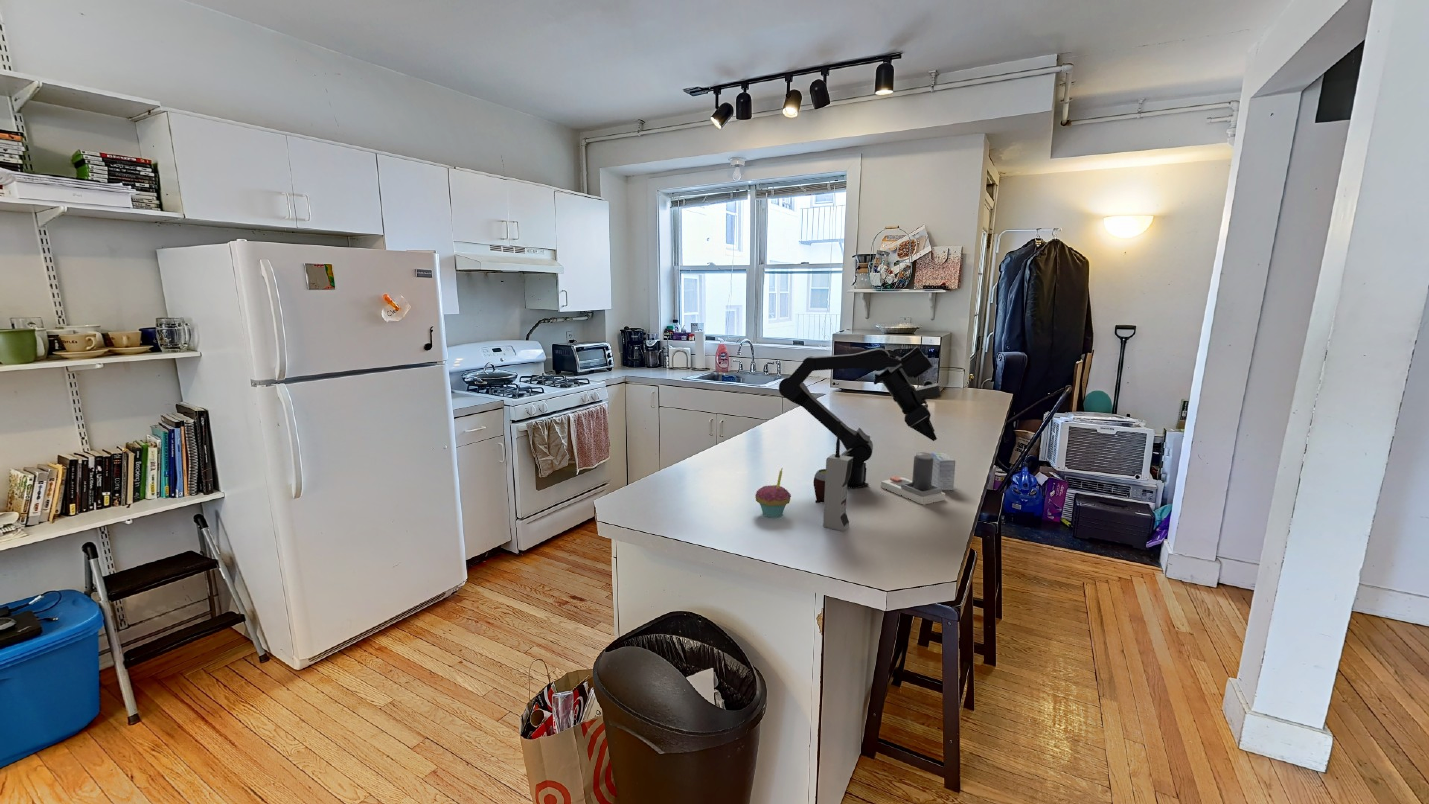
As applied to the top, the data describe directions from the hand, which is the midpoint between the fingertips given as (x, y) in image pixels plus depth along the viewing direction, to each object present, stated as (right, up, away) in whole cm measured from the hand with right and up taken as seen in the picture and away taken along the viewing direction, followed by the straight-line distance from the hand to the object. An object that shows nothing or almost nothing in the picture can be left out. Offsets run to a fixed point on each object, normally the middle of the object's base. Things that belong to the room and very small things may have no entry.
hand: (934, 436), depth 153 cm
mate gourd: (-29, -17, -5) cm, 34 cm away
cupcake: (-45, -18, -14) cm, 50 cm away
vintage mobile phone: (-31, -20, -21) cm, 42 cm away
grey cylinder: (-4, -14, -1) cm, 15 cm away
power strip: (-5, -16, +2) cm, 17 cm away
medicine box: (+5, -15, +9) cm, 18 cm away
